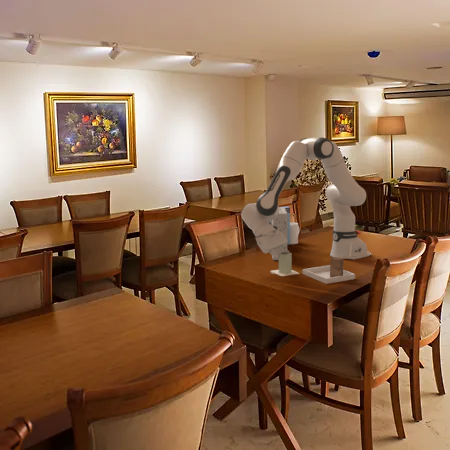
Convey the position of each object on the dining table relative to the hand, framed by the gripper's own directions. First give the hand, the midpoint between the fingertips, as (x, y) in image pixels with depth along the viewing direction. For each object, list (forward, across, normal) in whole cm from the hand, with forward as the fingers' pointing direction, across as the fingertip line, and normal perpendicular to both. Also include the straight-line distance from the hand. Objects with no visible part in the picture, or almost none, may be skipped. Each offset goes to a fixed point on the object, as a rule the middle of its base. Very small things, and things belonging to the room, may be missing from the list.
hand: (283, 255), depth 238 cm
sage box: (+6, 0, +5) cm, 8 cm away
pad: (+7, 0, +6) cm, 9 cm away
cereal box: (-7, +31, +20) cm, 38 cm away
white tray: (+21, +5, -8) cm, 23 cm away
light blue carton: (-16, +50, +29) cm, 59 cm away
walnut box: (+24, +4, -12) cm, 27 cm away
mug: (-13, +65, +26) cm, 71 cm away
